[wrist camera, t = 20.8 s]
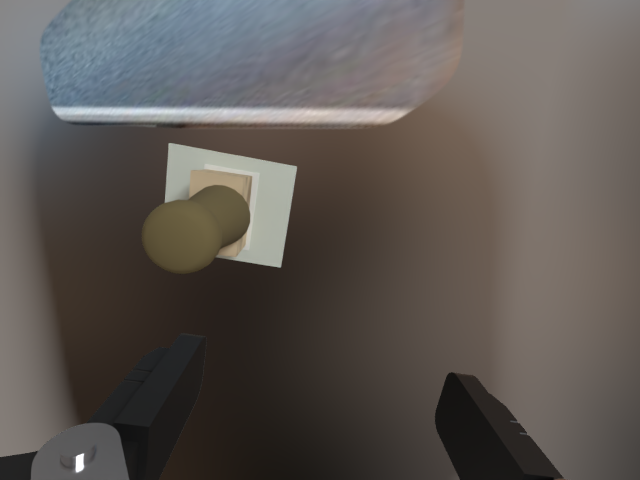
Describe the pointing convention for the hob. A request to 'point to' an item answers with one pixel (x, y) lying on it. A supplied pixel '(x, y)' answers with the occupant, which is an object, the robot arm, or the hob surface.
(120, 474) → the robot arm
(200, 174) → the oak block
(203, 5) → the hob surface
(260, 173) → the board
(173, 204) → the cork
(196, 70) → the hob surface
